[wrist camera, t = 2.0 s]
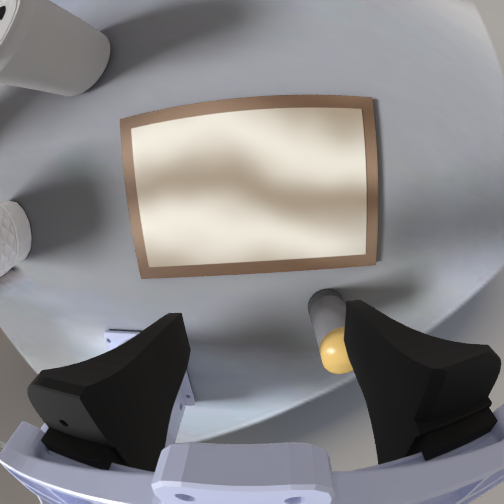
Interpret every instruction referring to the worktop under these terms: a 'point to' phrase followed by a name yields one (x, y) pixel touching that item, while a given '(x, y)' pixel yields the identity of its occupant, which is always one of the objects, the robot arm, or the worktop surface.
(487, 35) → the worktop surface
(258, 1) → the worktop surface
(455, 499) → the robot arm
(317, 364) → the worktop surface
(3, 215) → the white cup
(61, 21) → the beverage can
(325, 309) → the grey yellow rounded cylinder
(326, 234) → the writing board
